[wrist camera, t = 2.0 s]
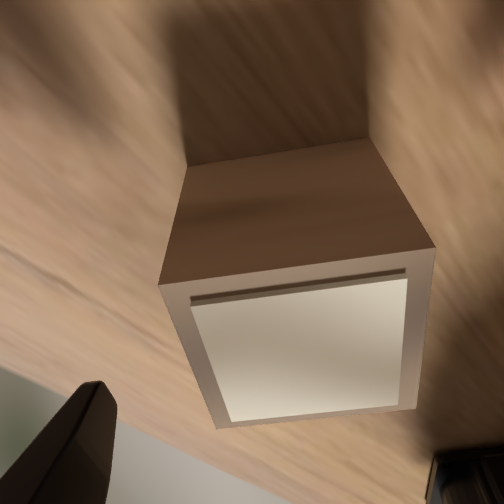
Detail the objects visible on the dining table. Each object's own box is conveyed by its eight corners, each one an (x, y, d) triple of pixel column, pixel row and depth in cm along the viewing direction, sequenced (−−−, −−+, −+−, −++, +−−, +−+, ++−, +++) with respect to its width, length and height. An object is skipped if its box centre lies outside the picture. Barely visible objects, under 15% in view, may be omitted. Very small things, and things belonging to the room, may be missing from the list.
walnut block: (368, 275, 14) (418, 414, 10) (224, 295, 15) (216, 434, 11) (368, 136, 11) (438, 252, 7) (187, 165, 12) (156, 290, 8)
